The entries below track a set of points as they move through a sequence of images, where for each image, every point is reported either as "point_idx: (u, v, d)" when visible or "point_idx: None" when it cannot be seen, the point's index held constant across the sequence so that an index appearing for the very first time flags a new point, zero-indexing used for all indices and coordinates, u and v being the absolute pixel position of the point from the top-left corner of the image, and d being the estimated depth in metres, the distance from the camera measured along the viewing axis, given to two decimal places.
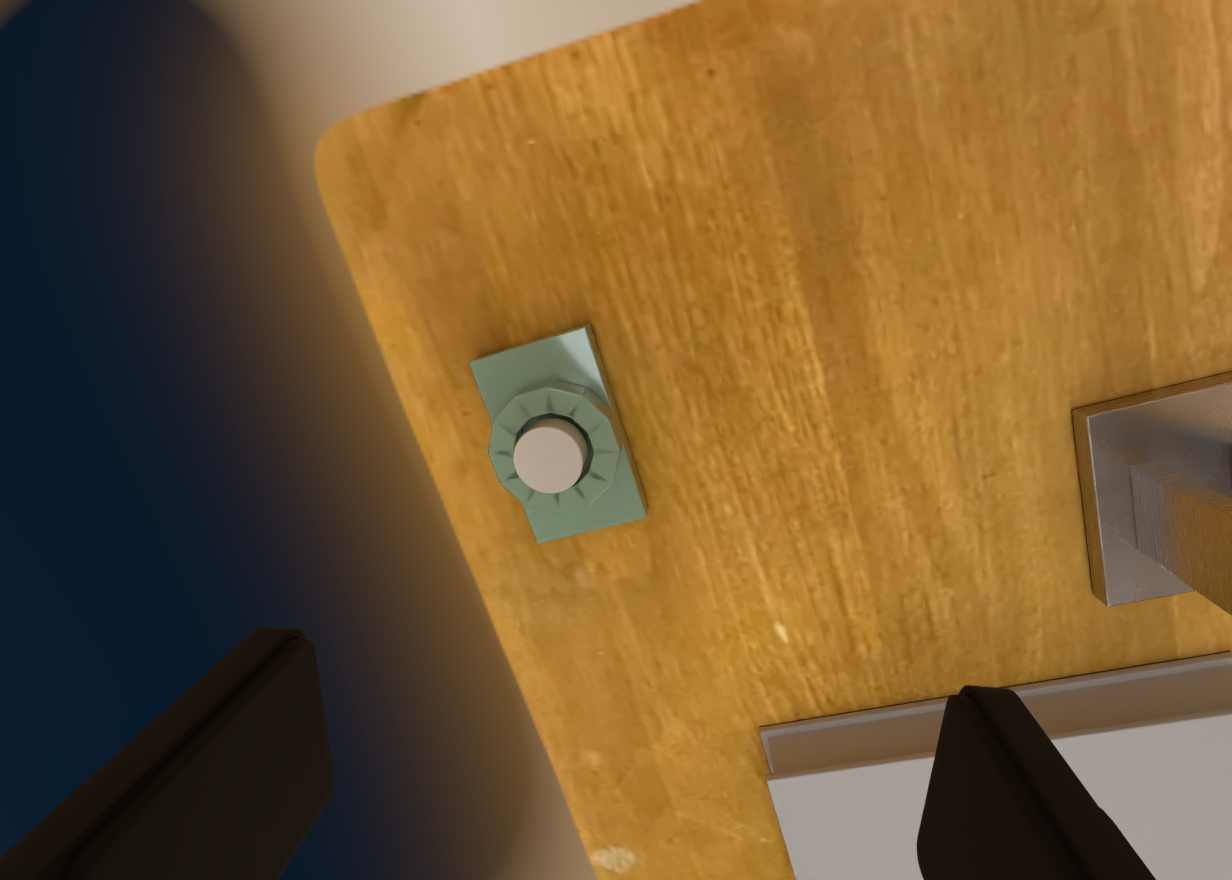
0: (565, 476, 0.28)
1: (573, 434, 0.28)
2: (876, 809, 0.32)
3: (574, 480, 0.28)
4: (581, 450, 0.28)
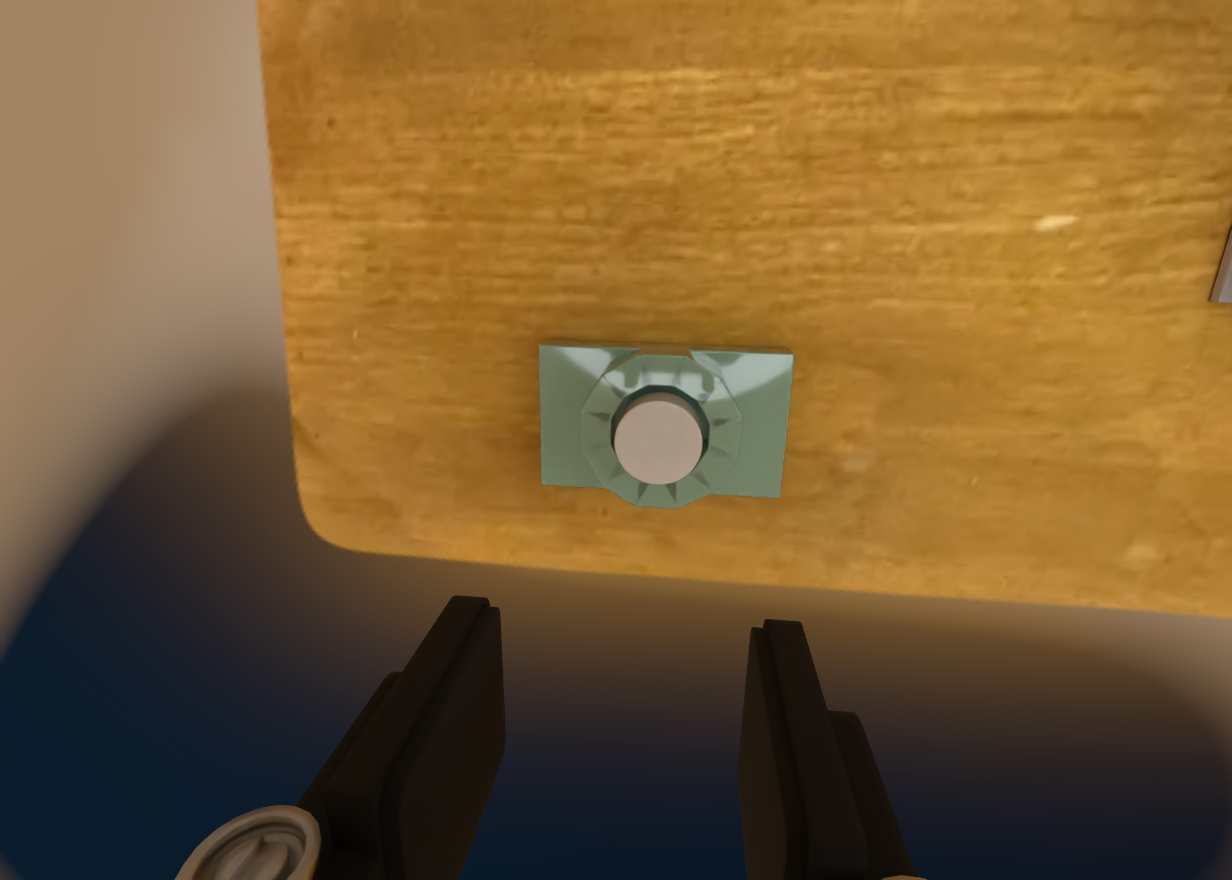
0: (684, 430, 0.22)
1: (639, 402, 0.23)
2: None
3: (692, 422, 0.22)
4: (659, 399, 0.22)
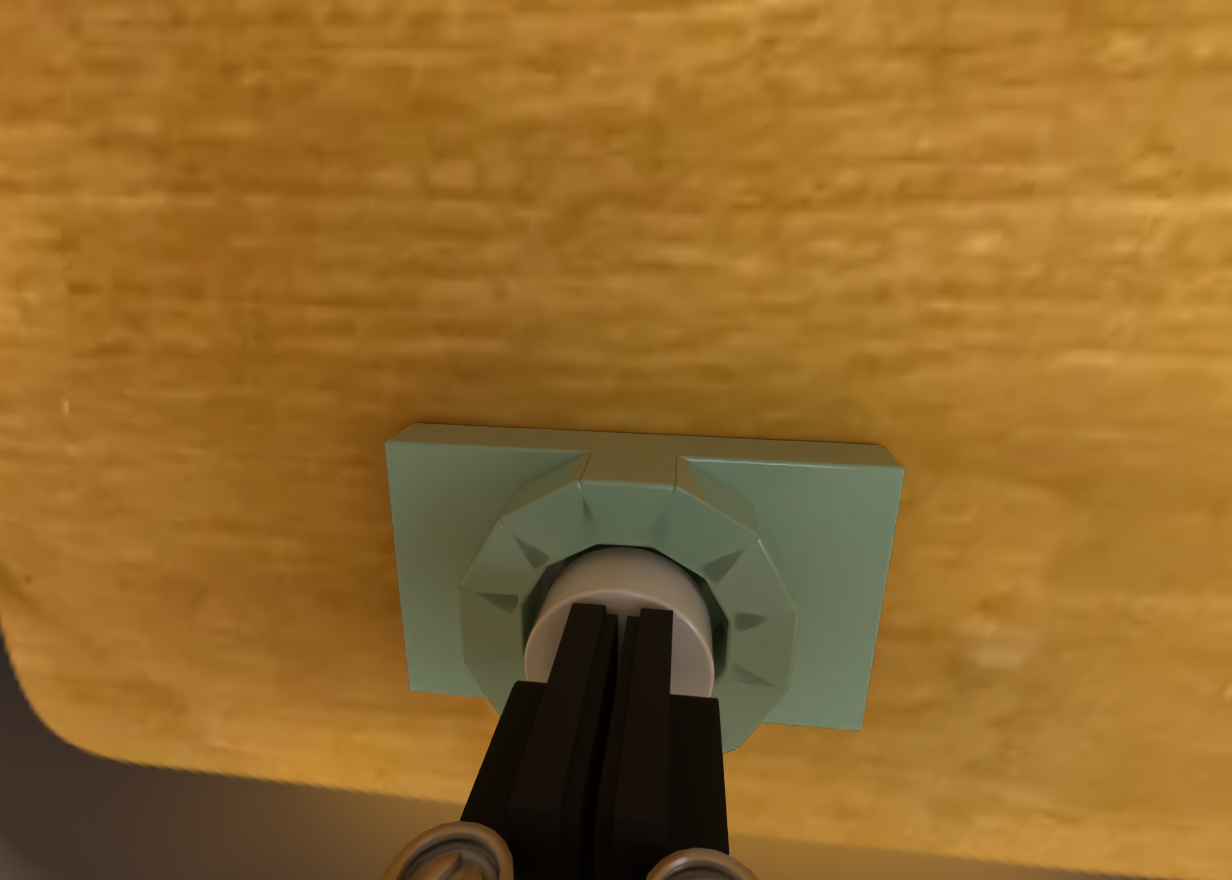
0: (675, 651, 0.10)
1: (577, 582, 0.10)
2: None
3: (693, 634, 0.10)
4: (620, 583, 0.10)
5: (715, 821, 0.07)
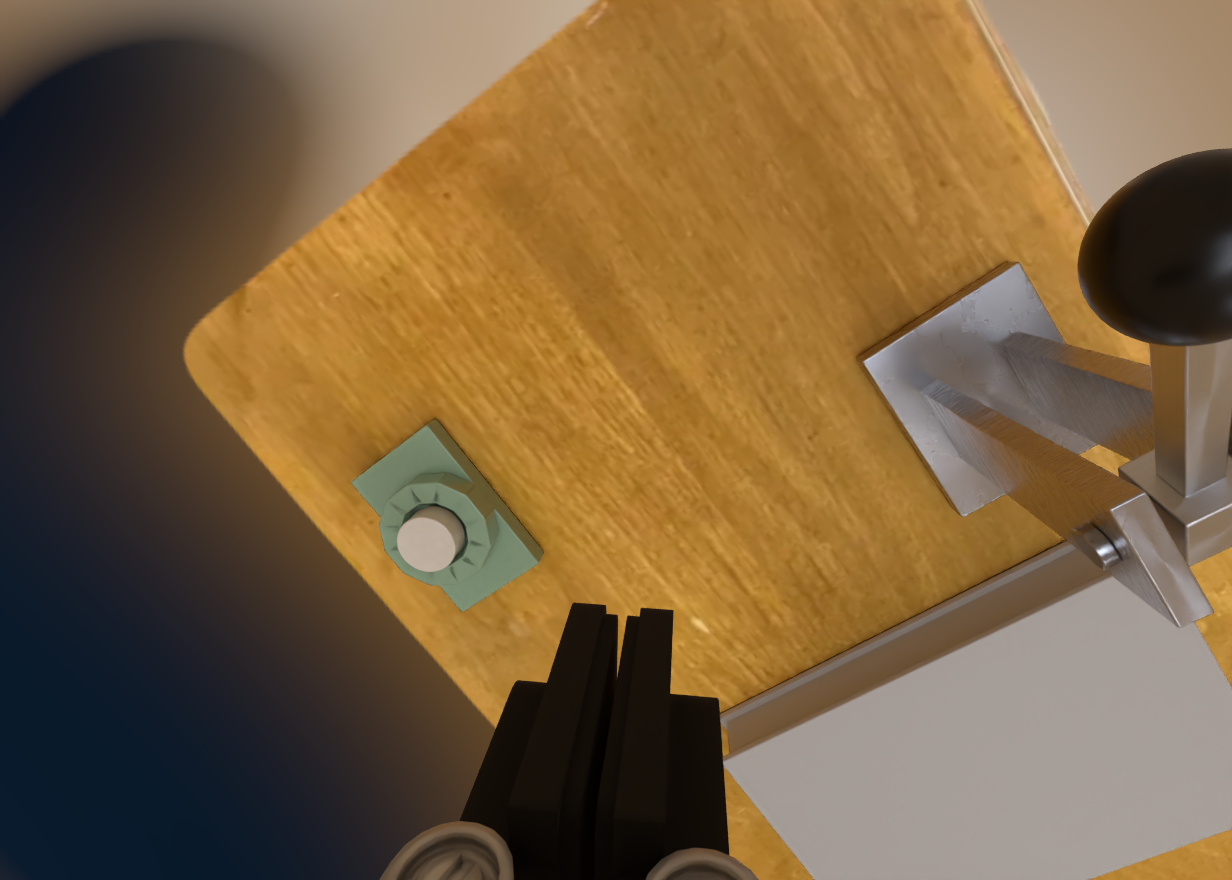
0: (444, 553, 0.33)
1: (439, 517, 0.33)
2: (826, 761, 0.35)
3: (452, 554, 0.33)
4: (449, 528, 0.33)
5: (715, 821, 0.07)
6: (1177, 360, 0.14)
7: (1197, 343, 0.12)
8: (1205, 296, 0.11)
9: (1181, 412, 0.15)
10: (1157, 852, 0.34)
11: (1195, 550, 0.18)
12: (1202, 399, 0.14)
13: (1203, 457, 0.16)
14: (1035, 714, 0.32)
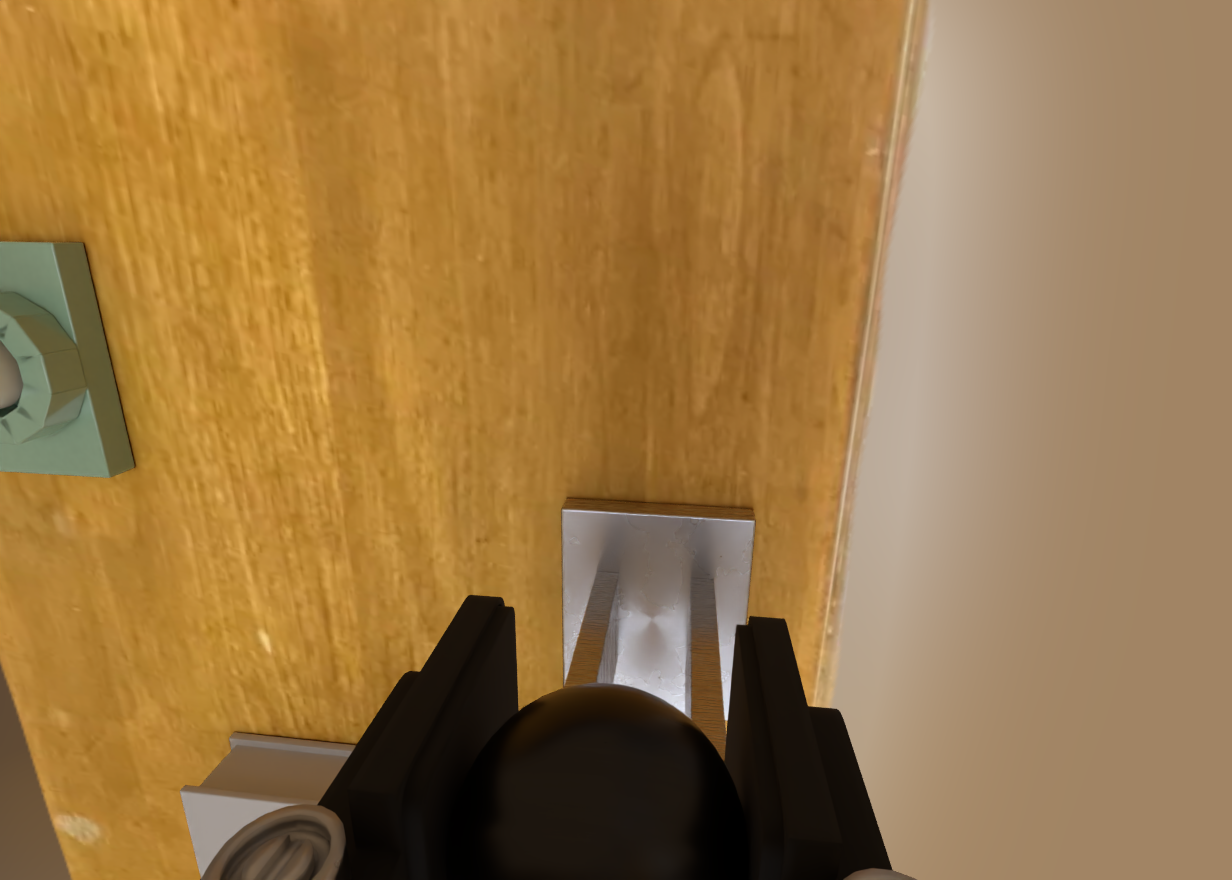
0: None
1: None
2: None
3: None
4: None
5: (870, 838, 0.07)
6: None
7: None
8: None
9: None
10: None
11: None
12: None
13: None
14: None
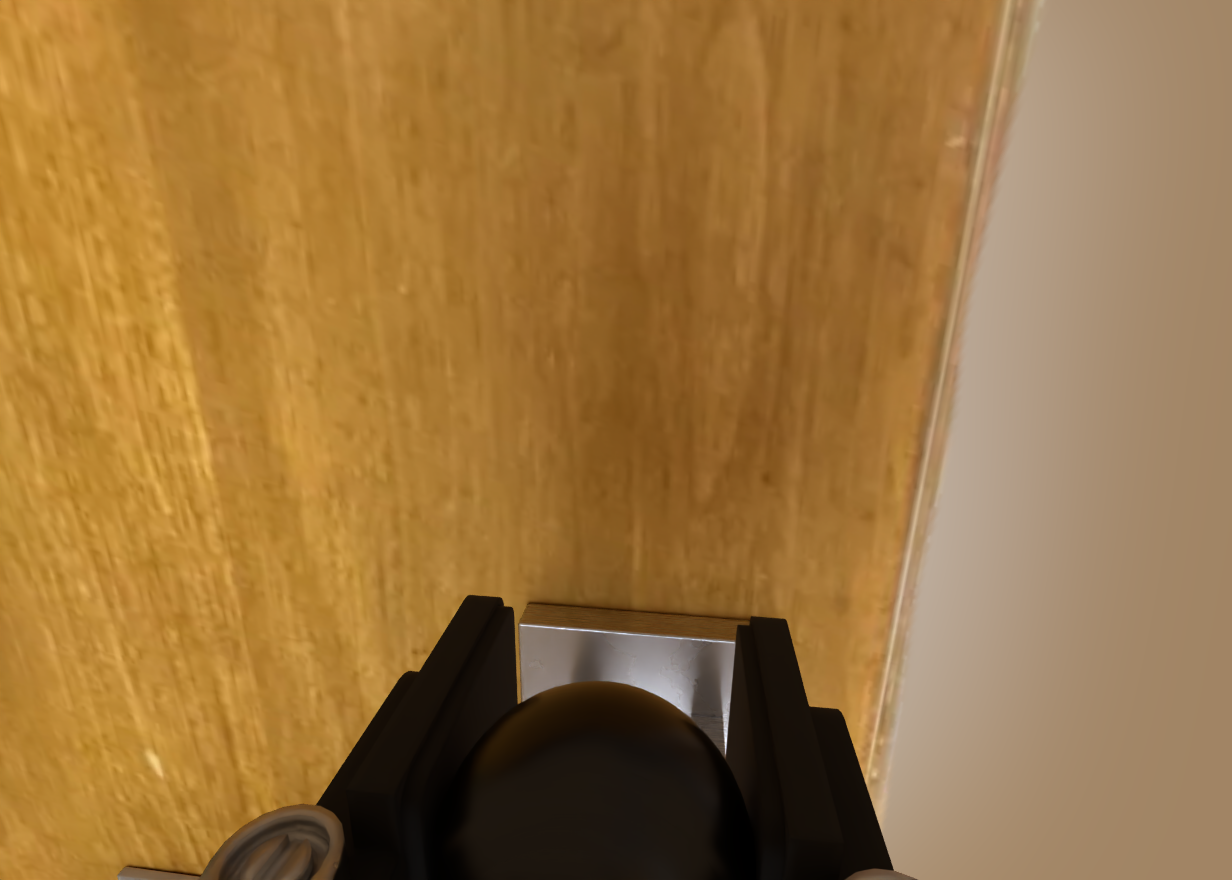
0: None
1: None
2: None
3: None
4: None
5: (871, 839, 0.07)
6: None
7: None
8: None
9: None
10: None
11: None
12: None
13: None
14: None
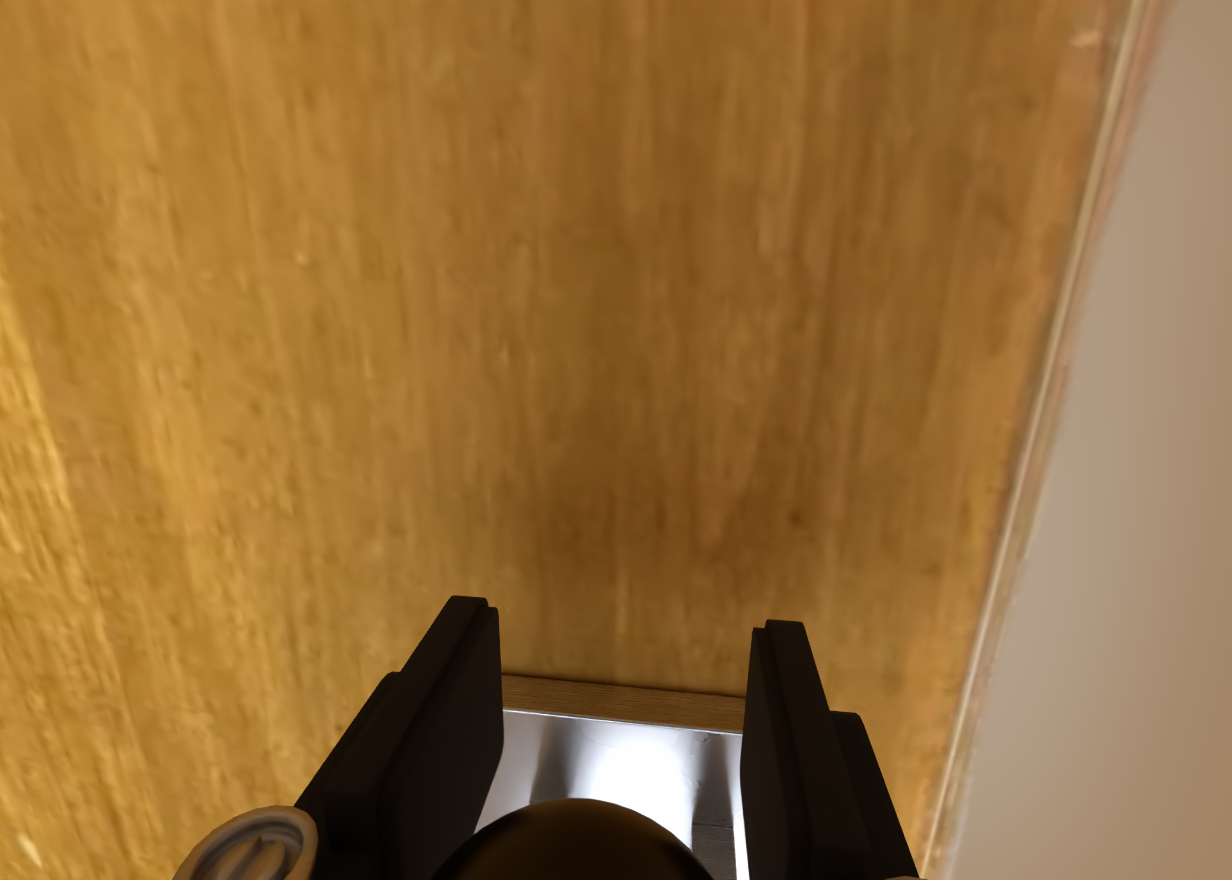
0: None
1: None
2: None
3: None
4: None
5: (896, 845, 0.07)
6: None
7: None
8: None
9: None
10: None
11: None
12: None
13: None
14: None
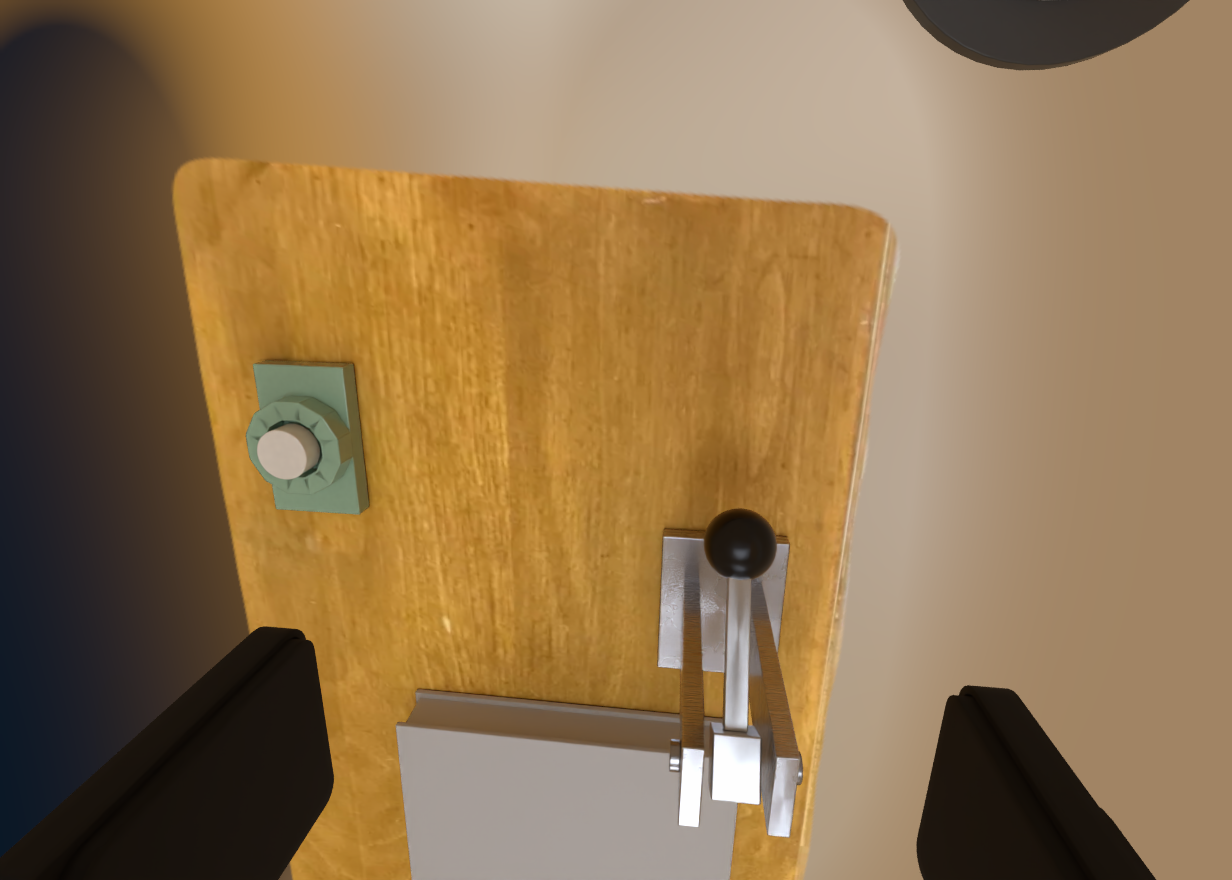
0: (291, 470, 0.38)
1: (306, 442, 0.38)
2: (467, 764, 0.44)
3: (297, 474, 0.38)
4: (308, 455, 0.38)
5: None
6: (727, 597, 0.31)
7: (721, 558, 0.30)
8: (722, 529, 0.30)
9: (726, 639, 0.30)
10: None
11: (717, 776, 0.28)
12: (734, 633, 0.30)
13: (734, 692, 0.29)
14: (614, 810, 0.44)
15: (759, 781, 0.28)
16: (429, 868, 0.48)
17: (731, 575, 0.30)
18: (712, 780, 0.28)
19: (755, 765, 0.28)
